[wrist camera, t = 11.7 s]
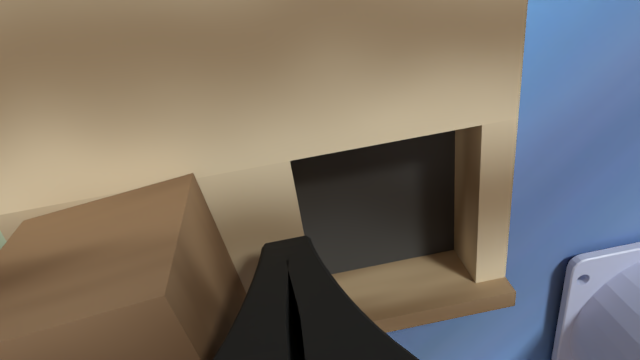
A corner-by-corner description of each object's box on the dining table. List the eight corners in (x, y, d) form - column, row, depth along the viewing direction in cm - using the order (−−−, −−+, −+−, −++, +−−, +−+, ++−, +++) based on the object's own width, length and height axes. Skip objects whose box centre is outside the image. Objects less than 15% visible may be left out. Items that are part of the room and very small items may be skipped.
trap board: (477, 254, 17) (527, 324, 14) (-75, 365, 16) (-152, 468, 13) (494, -152, 11) (590, -185, 8) (-397, -16, 10) (-688, 7, 7)
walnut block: (248, 298, 14) (248, 443, 10) (105, 338, 14) (49, 499, 10) (193, 172, 12) (164, 295, 8) (23, 220, 12) (-93, 368, 8)
